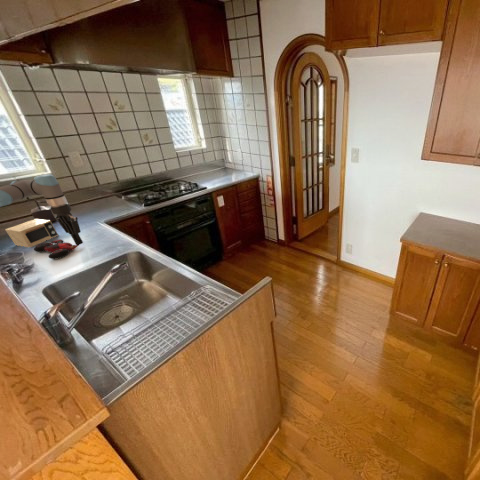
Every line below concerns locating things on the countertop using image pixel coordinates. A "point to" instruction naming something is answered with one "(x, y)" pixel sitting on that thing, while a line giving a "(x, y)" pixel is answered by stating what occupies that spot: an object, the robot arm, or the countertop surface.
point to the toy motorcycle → (55, 248)
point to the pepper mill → (43, 212)
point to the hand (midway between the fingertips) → (79, 243)
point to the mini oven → (32, 232)
